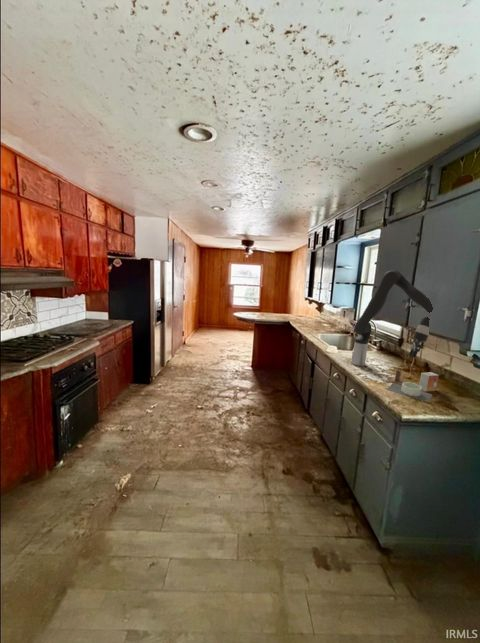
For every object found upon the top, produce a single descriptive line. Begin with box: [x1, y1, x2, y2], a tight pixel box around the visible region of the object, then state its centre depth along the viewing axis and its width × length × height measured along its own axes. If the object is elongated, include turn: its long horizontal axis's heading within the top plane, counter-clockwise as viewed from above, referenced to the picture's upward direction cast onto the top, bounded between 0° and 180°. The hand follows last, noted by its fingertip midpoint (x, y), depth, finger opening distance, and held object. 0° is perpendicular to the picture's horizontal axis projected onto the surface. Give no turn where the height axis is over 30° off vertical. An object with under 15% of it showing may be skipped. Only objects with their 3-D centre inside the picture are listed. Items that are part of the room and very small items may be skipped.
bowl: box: [401, 381, 423, 397], centre depth 172 cm, size 10×10×5 cm
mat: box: [386, 383, 433, 403], centre depth 174 cm, size 22×14×1 cm, turn 48°
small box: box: [418, 371, 440, 392], centre depth 179 cm, size 8×6×10 cm
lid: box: [386, 369, 408, 386], centre depth 190 cm, size 12×12×8 cm
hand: (411, 356), depth 185 cm, fingers open, 8 cm apart
